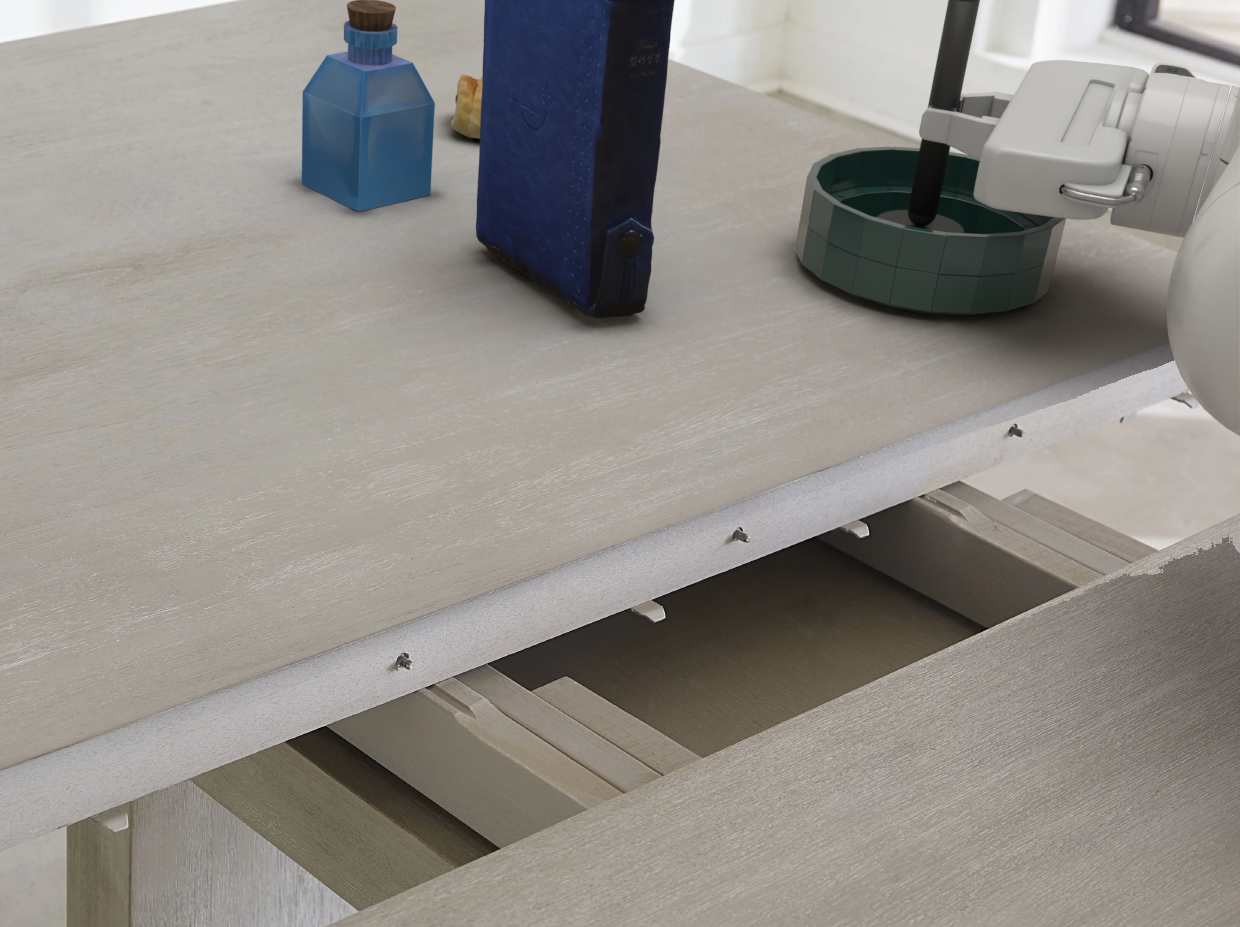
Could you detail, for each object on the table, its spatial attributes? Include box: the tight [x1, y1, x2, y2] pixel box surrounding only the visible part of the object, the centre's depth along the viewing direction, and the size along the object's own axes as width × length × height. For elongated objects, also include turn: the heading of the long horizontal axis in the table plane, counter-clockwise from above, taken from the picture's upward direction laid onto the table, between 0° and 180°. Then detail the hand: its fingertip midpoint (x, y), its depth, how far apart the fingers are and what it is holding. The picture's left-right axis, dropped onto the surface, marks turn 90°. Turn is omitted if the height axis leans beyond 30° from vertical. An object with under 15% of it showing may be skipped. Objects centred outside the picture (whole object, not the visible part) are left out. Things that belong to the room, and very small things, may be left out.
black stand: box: [876, 0, 981, 233], centre depth 116 cm, size 6×6×17 cm
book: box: [475, 0, 676, 319], centre depth 111 cm, size 14×5×20 cm, turn 32°
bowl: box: [795, 146, 1067, 316], centre depth 121 cm, size 16×16×6 cm
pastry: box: [450, 74, 483, 140], centre depth 139 cm, size 9×7×4 cm
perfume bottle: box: [301, 0, 436, 213], centre depth 125 cm, size 6×6×12 cm
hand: (927, 113), depth 116 cm, fingers closed on black stand
